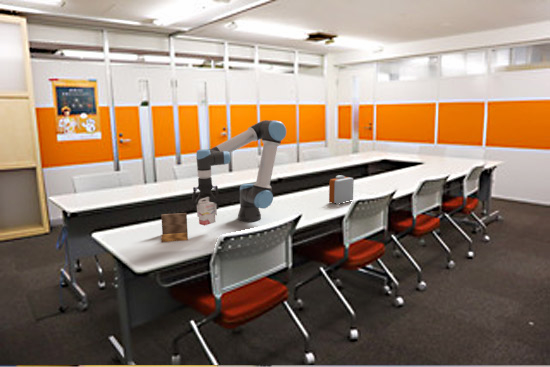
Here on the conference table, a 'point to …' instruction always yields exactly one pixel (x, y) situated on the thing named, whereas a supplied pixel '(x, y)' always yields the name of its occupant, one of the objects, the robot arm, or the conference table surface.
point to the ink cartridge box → (206, 211)
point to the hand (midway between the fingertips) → (207, 215)
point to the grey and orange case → (341, 189)
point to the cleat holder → (174, 227)
